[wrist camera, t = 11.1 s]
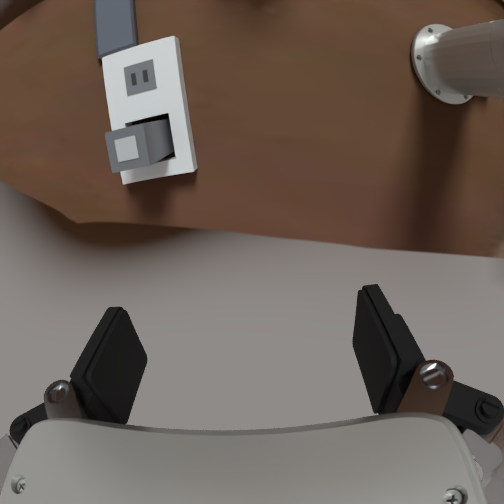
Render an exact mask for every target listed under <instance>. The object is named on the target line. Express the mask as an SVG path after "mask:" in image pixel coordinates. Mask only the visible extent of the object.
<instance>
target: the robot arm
mask: <svg viewBox="0 0 504 504" xmlns="http://www.w3.org/2000/svg"><path fill="white" fill-rule="evenodd" d="M411 57H412V63H413V67H414V70H415V72H416V75H417V77H418V78H419V80H420V82H421V84H422V85H423V86H424V88H425V89H426V90H427V91H428V92H429V93H430V94H431V95H432V96H434V97H435V98H436V99H438V100H440V101H442V102H444V103H448V104H462V103H465V102H467V101H468V100H470V99H471V98H472V96H483V97H493V98H501V99H504V19H503V20H497V21H491V22H486V23H481V24H476V25H471V26H466V27H462V28H457V29H452V28H450V27H447V26H445V25H440V24H431V25H428V26H425V27H423V28H422V29H420V30H419V31H418V32H417V33H416V35H415V37H414V39H413V42H412V47H411ZM353 348H354V352H355V355H356V358H357V361H358V364H359V367H360V370H361V373H362V376H363V379H364V382H365V386H366V389H367V392H368V395H369V398H370V402H371V405H372V409H373V412H374V413H375V414H376V413H378V414H379V415H375V416H368V417H362V418H356V419H350V420H344V421H337V422H331V423H322V424H315V425H306V426H297V427H286V428H273V429H257V430H223V431H222V430H183V429H166V428H153V427H143V426H134V425H125V424H126V423H127V422H128V419H129V416H130V412H131V409H132V406H133V402H134V400H135V397H136V394H137V390H138V388H139V385H140V382H141V379H142V375H143V373H144V370H145V367H146V364H147V355H146V353H145V351H144V348H143V346H142V344H141V342H140V340H139V337H138V335H137V333H136V331H135V329H134V326H133V324H132V322H131V320H130V317H129V315H128V313H127V311H126V310H124V309H123V308H122V307H109V308H108V309H107V310H106V312H105V314H104V316H103V317H102V319H101V320H100V322H99V324H98V325H97V327H96V329H95V331H94V333H93V334H92V336H91V338H90V339H89V341H88V343H87V345H86V347H85V349H84V350H83V352H82V354H81V356H80V357H79V359H78V361H77V363H76V365H75V367H74V369H73V370H72V372H71V375H70V377H71V380H70V382H68V381H66V380H58V381H55V382H53V383H52V384H50V386H49V387H47V389H46V391H45V393H44V403H42V404H40V405H39V406H37V407H35V408H33V409H31V410H29V411H27V412H26V413H24V414H22V415H20V416H18V417H17V418H16V419H15V420H14V421H13V422H12V424H11V426H10V435H8V434H6V435H5V436H4V437H2V438H1V439H0V504H504V407H503V405H502V403H501V401H500V400H499V399H498V398H497V397H495V396H493V395H490V394H488V393H485V392H482V391H480V390H477V389H474V388H472V387H469V386H467V385H464V384H462V383H459V382H456V381H454V380H453V379H454V375H453V371H452V370H451V368H450V367H449V366H448V365H447V364H446V363H444V362H442V361H439V360H427V361H426V360H425V358H424V356H423V354H422V353H421V350H420V349H419V347H418V345H417V343H416V341H415V339H414V337H413V336H412V334H411V332H410V330H409V328H408V326H407V325H406V323H405V321H404V320H403V318H402V316H401V315H400V314H394V312H393V310H392V308H391V306H390V305H389V303H388V301H387V299H386V298H385V296H384V294H383V292H382V291H381V289H380V287H379V286H378V284H373V285H366V286H363V287H362V290H359V291H358V296H357V306H356V316H355V325H354V333H353ZM472 455H473V456H474V457H476V458H475V459H473V456H472ZM474 460H475V461H476V462H477V463H478V464H479V465H480V466H481V467H482V470H483V478H482V480H481V479H480V476H479V473H478V470H477V467H476V464H475V461H474Z"/></svg>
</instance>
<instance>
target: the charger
mask: <svg viewBox="0 0 504 504" xmlns="http://www.w3.org/2000/svg"><path fill="white" fill-rule="evenodd" d="M105 138H106V143H107V149H108V154H109V159H110V164H111V169H112V173H116V172H121V171H126V170H131V169H136V168H141V167H146V166H151V165H152V164H154V163H155V162H157V161H159V160H160V159H162V158H164V157H165V156H167V155H169V154H170V153H172V152H174V145H173V138H172V132H171V126H170V120H169V119H164V120H158V121H152V122H147V123H142V124H138V125H133V126H129V127H125V128H121V129H117V130H114V131H110V132H106V133H105Z"/></svg>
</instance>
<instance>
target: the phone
mask: <svg viewBox="0 0 504 504" xmlns="http://www.w3.org/2000/svg"><path fill="white" fill-rule="evenodd" d="M94 24H95V39H96V52H97V59H98V60H101V59H102V58H103V57H105V56H108V55H111V54H114V53H117V52H120V51H123V50H126V49H129V48H132V47H135V46H138V45H139V43H138V33H137V22H136V9H135V0H94Z"/></svg>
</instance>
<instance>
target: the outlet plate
mask: <svg viewBox="0 0 504 504" xmlns="http://www.w3.org/2000/svg"><path fill="white" fill-rule="evenodd" d="M102 64H103V73H104V81H105V89H106V96H107V103H108V109H109V115H110V121H111V127H112V131H114V130H117V129H121V128H125V127H129V126H132V122H134V121H138V120H142V119H146V118H150V117H155V116H159V115H163V114H168V113H169V120H170V126H171V132H172V138H173V144H174V150H175V155H176V157H171V158H166V159H160V160H159V161H157V162H155V163H154V164H152V165H151V166H146V167H141V168H136V169H131V170H126V171H121V177H122V181H123V184H128V183H133V182H138V181H143V180H148V179H153V178H159V177H165V176H170V175H176V174H182V173H188V172H194V171H195V170H196V169H197V168H198V167H197V161H196V155H195V149H194V143H193V137H192V130H191V124H190V117H189V111H188V104H187V97H186V90H185V83H184V76H183V68H182V61H181V53H180V45H179V39H178V38H176V37H175V36H171V37H167V38H163V39H159V40H156V41H152V42H148V43H145V44H142V45H138V46H135V47H132V48H129V49H126V50H123V51H120V52H117V53H114V54H111V55H108V56H105V57H103V58H102Z"/></svg>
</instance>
